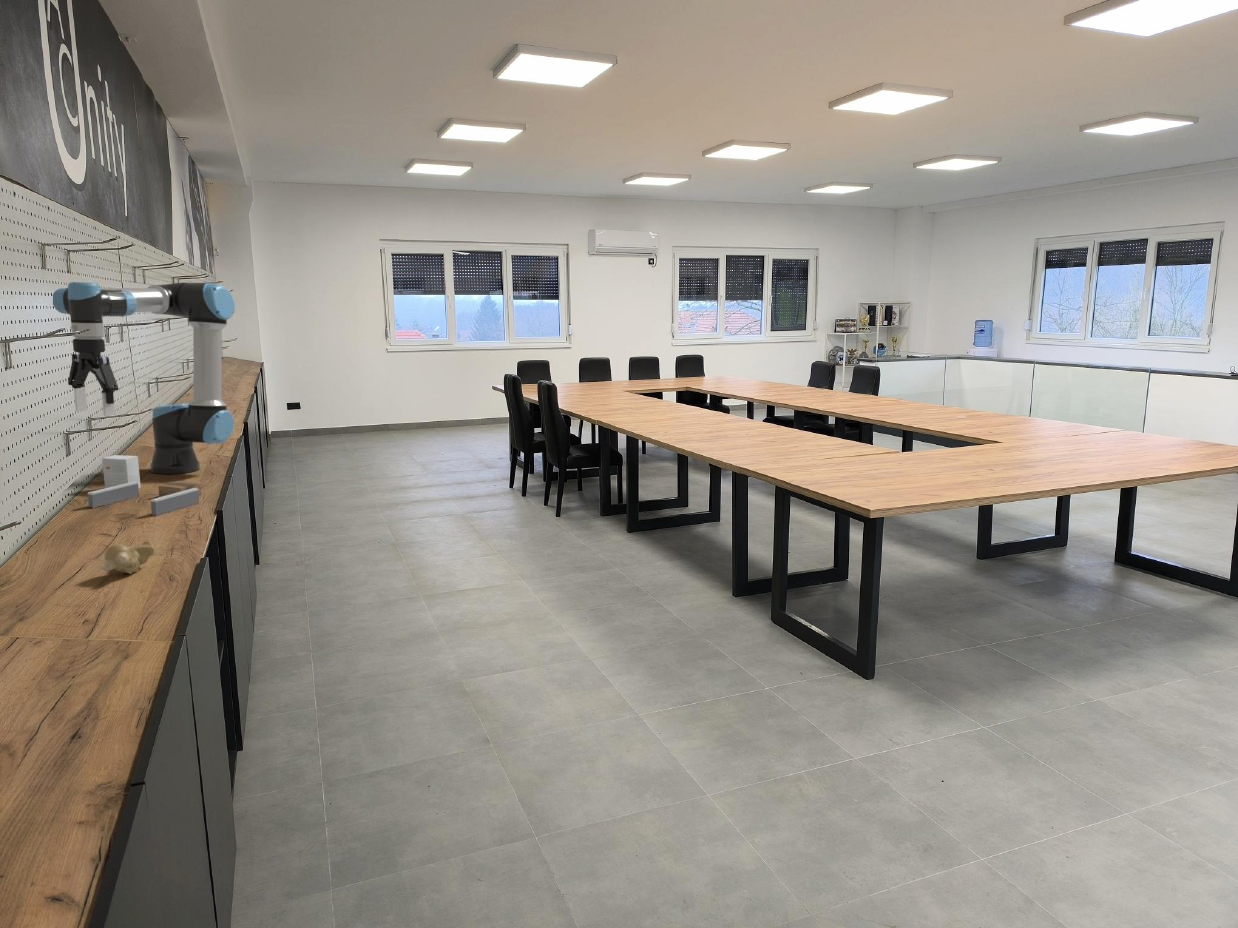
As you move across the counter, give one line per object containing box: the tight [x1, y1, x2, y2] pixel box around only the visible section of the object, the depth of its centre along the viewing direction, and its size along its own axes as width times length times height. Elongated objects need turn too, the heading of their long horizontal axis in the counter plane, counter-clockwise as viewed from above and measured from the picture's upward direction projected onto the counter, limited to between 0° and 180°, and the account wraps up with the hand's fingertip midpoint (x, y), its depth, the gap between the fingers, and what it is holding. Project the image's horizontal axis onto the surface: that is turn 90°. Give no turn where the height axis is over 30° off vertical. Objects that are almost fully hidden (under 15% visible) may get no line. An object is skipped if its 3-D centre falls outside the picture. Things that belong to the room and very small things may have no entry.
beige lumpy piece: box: [99, 540, 155, 575], centre depth 177 cm, size 8×7×12 cm
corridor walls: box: [87, 482, 200, 517], centre depth 233 cm, size 16×23×4 cm
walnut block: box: [157, 480, 202, 498], centre depth 246 cm, size 8×8×4 cm
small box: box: [101, 454, 141, 490], centre depth 250 cm, size 8×6×10 cm
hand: (95, 413), depth 230 cm, fingers open, 13 cm apart
